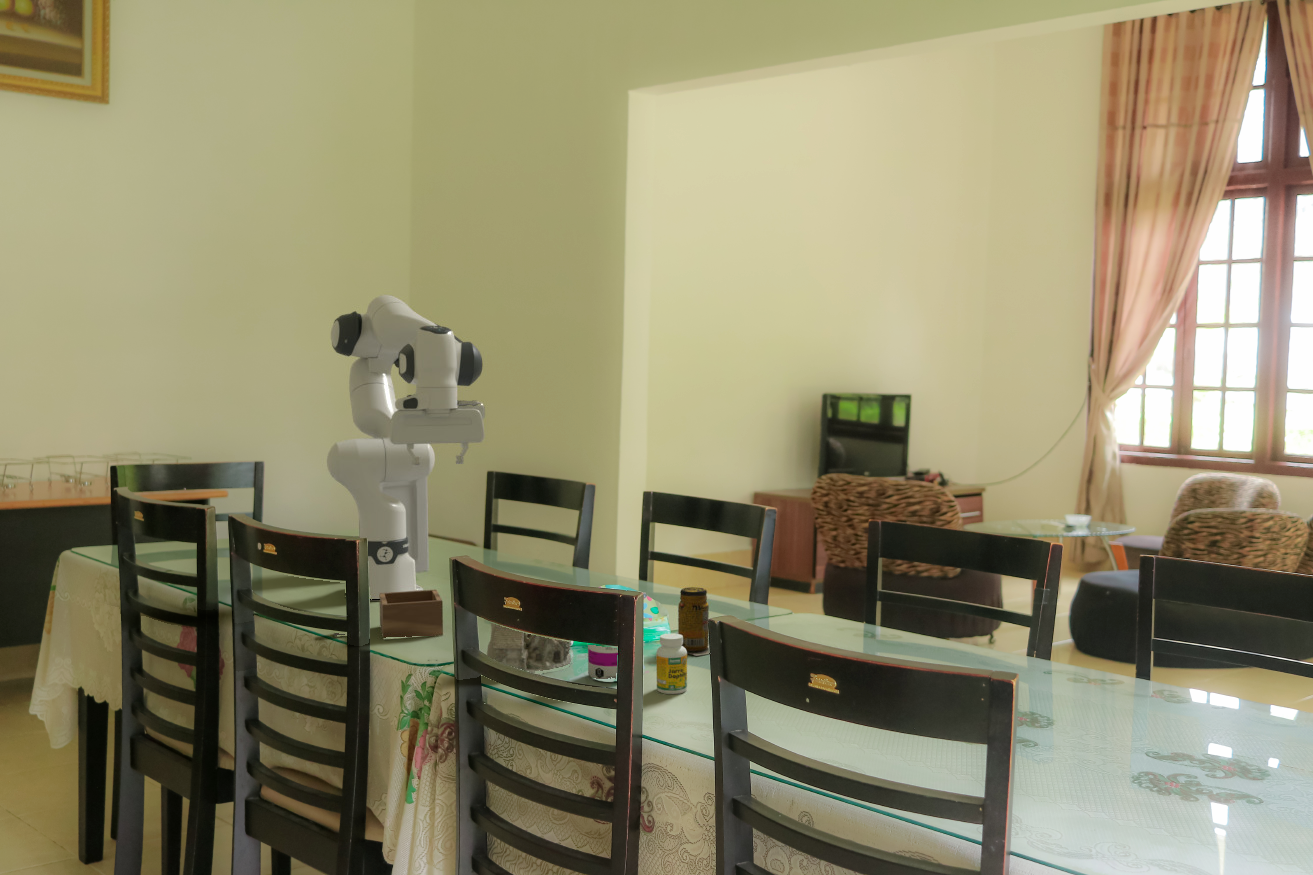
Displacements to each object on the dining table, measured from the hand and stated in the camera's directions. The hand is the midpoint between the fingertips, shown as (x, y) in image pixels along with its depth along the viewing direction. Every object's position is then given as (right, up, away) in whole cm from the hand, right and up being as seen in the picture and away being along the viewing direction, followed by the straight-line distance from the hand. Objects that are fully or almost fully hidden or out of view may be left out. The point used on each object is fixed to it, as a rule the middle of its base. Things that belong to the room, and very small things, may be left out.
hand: (437, 464), depth 233 cm
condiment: (+55, -37, -20) cm, 69 cm away
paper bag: (-27, -31, +62) cm, 74 cm away
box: (-4, -36, -7) cm, 37 cm away
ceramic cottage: (+23, -38, -32) cm, 55 cm away
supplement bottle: (+50, -38, -47) cm, 79 cm away
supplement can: (+39, -38, -39) cm, 67 cm away
